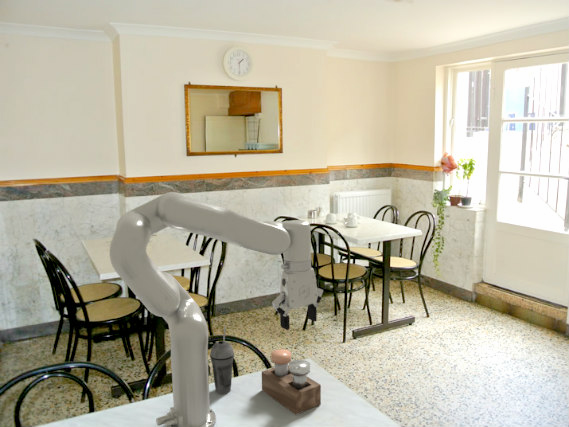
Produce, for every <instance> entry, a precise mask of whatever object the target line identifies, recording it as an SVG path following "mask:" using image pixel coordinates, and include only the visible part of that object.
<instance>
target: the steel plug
mask: <svg viewBox="0 0 569 427" xmlns="http://www.w3.org/2000/svg"><path fill="white" fill-rule="evenodd" d="M288 365H289V372H290V374H292V375H293V387H294V388H295V389H297V390H300V389H303V388H305V387H307V377H308V374H309V375H310V372H311V363H310V362H309V361H308V360H305V359H294V360H291V361H290V362H289V363H288Z"/></svg>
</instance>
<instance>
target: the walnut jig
mask: <svg viewBox="0 0 569 427" xmlns="http://www.w3.org/2000/svg"><path fill="white" fill-rule="evenodd" d="M321 386H322V385H321V384H320V383H318V382H317V381H315V380H314V379H312V378H310V377H309V376H307V387H305V388H303V389H300V390H297V389H295V388H294V387H293V375H292V374H290V372H289V364H288V375H286V376H283V377H281V378H279V377H277V376H276V375H275V366H274V367H271V368H269V369H265V370H262V371H261V391H262V392H264V393H265V394H267V395H268V396H269V397H271V398H272V399H274V400H275V401H276V402H278V403H279V404H280V405H282V406H283V407H284V408H286V409H287V410H289V411H290V412H291V413H293V414H294V415H296V416H297V415H298V414H302V413H304V412H306V411H308V410H311V409H314V408H317V407H318V406H321V402H322V401H321V400H322V394H321V393H322V392H321V390H322V389H321V388H322V387H321Z"/></svg>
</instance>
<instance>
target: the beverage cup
mask: <svg viewBox="0 0 569 427" xmlns="http://www.w3.org/2000/svg"><path fill="white" fill-rule="evenodd" d="M226 328H227V327H226V326H224V327H223V336H222V338H223V339H222V340H220V341H219V340H218V341H217V342H215V343H214V344H213V345H212V347H211V349H210V353H209V357H210V361H211V365H212V366H211V367H212V374H213V380H214V388H215V393H216V394H218V395H227V394H229V393H231V391H232V389H231V388H232V380H233V379H232V378H233V362H234V357H235V353H234V348H233V346H232V345H231V344H230V343H229V342H227V341H226Z"/></svg>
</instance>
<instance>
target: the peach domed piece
mask: <svg viewBox="0 0 569 427" xmlns="http://www.w3.org/2000/svg"><path fill="white" fill-rule="evenodd" d="M270 360H271V363H273V364H274V367H275V375H276V376H277V377H279V378H281V377H283V376H286V375H288V365H289V363H290V362H291V361H292V352H291V350H288V349H286V348H285V349H284V348H283V349H282V348H281V349H280V348H279V349H274V350H273V351H271V353H270Z"/></svg>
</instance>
